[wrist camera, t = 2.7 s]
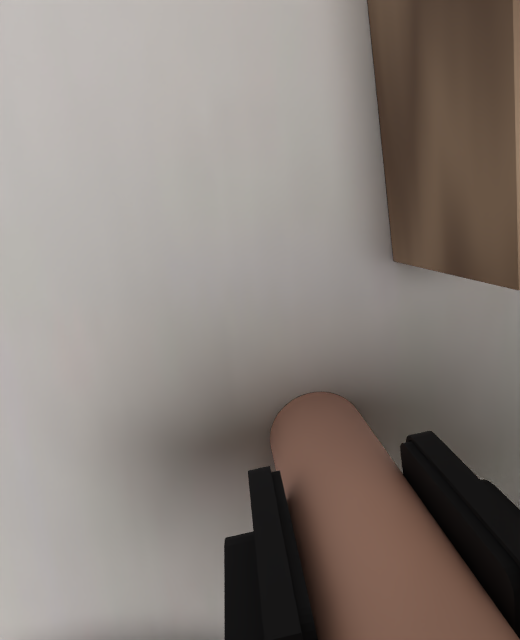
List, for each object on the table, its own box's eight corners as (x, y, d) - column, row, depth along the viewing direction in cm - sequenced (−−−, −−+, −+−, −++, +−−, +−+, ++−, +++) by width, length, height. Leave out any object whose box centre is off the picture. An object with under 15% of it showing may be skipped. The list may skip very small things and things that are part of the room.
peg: (368, 466, 13) (790, 1178, 3) (278, 486, 13) (446, 1284, 3) (357, 382, 12) (860, 988, 3) (261, 403, 12) (414, 1121, 2)
